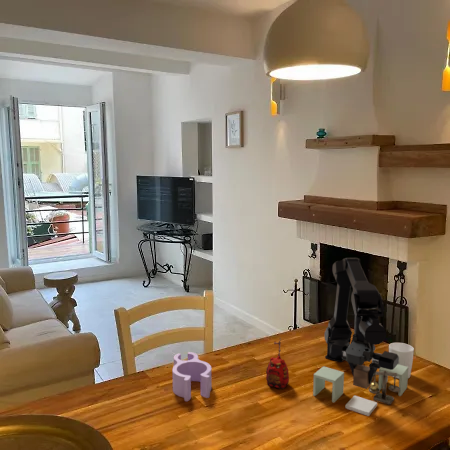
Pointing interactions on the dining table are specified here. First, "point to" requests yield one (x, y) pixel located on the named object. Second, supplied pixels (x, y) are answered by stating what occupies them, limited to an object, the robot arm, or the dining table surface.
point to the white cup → (403, 355)
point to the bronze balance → (383, 388)
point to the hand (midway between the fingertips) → (362, 381)
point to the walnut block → (361, 376)
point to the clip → (190, 375)
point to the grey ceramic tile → (361, 405)
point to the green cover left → (330, 376)
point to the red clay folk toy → (277, 371)
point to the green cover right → (401, 373)
